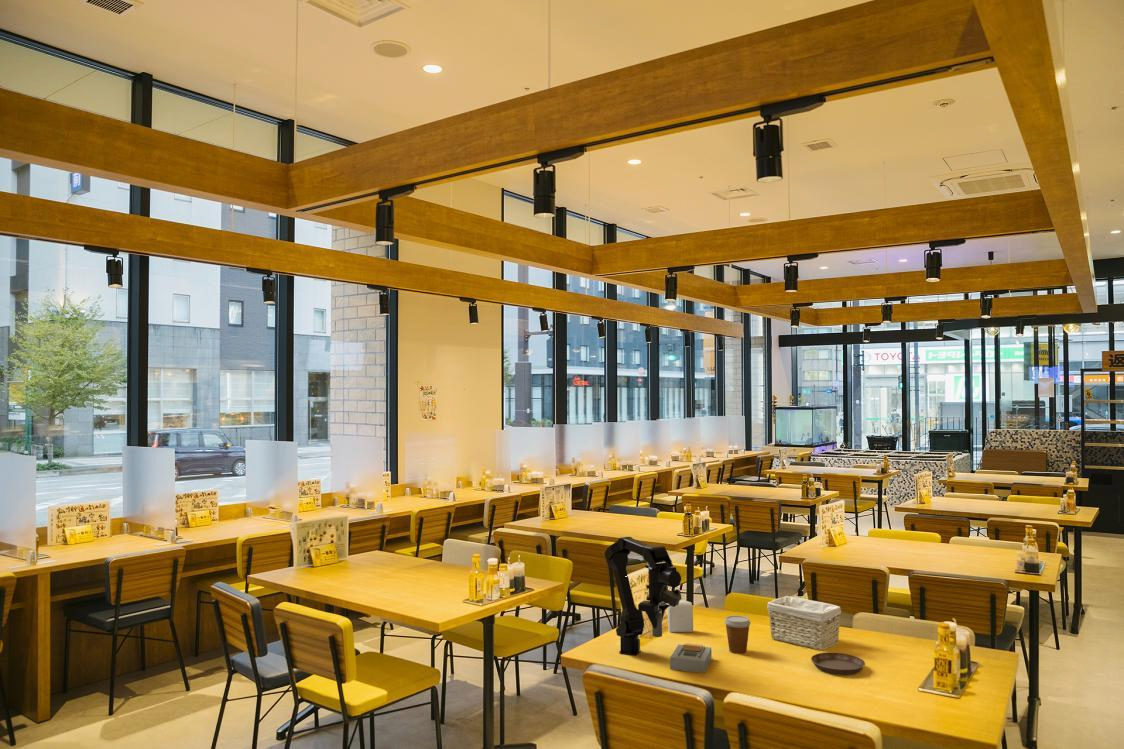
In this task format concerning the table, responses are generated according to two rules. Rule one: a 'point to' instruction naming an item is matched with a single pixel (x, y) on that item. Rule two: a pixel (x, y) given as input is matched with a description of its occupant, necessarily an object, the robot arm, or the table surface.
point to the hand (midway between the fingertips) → (657, 626)
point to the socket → (690, 659)
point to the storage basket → (804, 622)
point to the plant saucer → (838, 663)
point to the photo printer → (680, 617)
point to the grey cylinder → (658, 626)
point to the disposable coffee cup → (737, 633)
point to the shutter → (692, 647)
